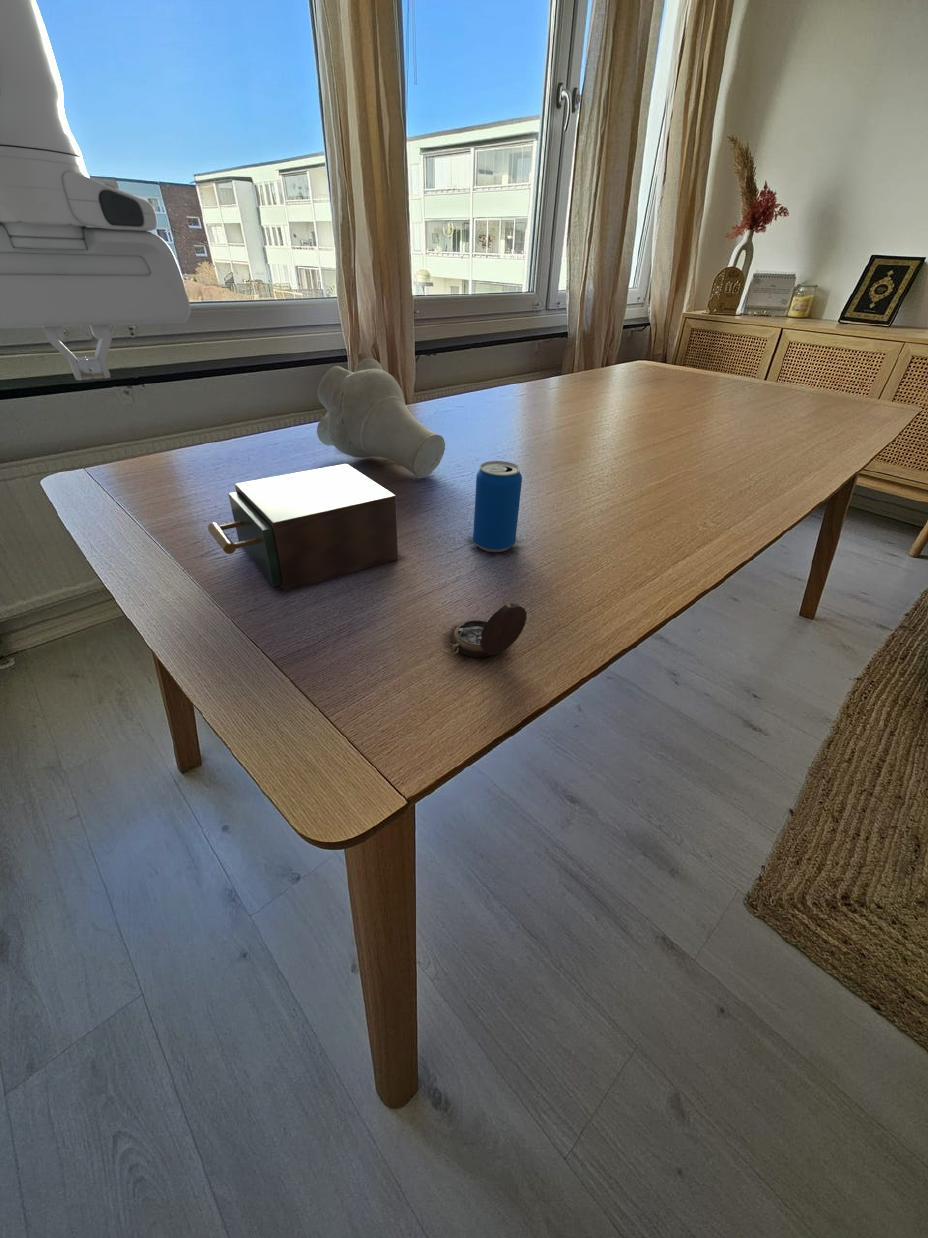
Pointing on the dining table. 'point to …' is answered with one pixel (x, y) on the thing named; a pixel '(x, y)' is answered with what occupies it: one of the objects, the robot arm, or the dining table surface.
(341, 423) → the vase
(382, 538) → the cabinet
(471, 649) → the compass
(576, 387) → the dining table surface
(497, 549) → the beverage can
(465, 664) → the dining table surface
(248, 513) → the drawer
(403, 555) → the dining table surface
